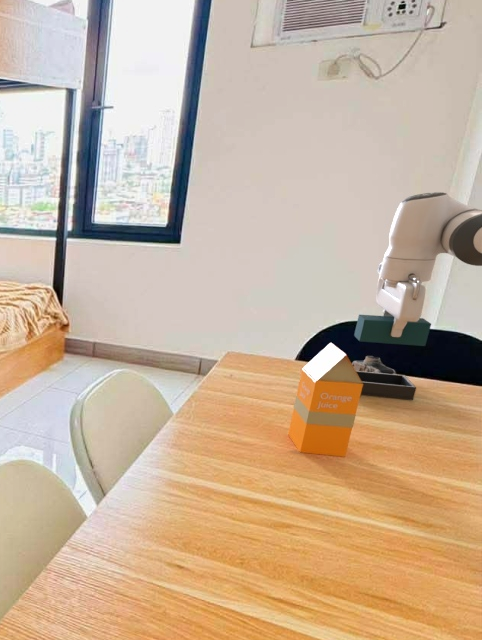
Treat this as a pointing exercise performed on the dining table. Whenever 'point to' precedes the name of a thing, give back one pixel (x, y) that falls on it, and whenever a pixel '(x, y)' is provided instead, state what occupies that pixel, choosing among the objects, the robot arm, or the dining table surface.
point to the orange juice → (326, 404)
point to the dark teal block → (380, 327)
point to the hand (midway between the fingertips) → (390, 332)
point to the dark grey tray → (386, 385)
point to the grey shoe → (372, 366)
